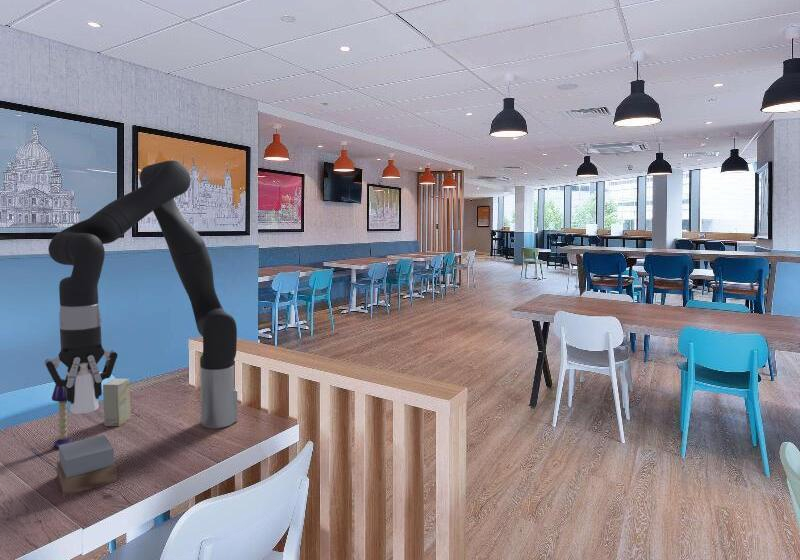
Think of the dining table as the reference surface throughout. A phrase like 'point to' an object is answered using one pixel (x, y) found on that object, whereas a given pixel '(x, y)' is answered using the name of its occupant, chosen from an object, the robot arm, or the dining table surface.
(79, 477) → the walnut base block
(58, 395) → the toy lamp
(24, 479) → the dining table surface
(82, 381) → the pepper shaker
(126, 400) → the skincare box
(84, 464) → the grey top block
